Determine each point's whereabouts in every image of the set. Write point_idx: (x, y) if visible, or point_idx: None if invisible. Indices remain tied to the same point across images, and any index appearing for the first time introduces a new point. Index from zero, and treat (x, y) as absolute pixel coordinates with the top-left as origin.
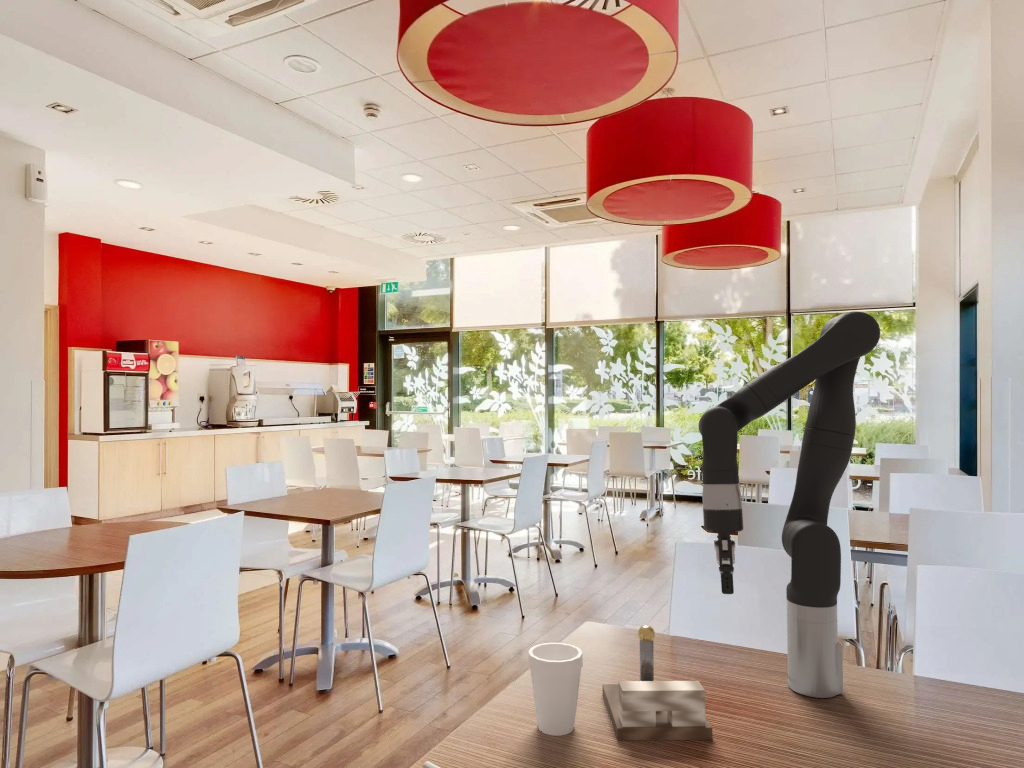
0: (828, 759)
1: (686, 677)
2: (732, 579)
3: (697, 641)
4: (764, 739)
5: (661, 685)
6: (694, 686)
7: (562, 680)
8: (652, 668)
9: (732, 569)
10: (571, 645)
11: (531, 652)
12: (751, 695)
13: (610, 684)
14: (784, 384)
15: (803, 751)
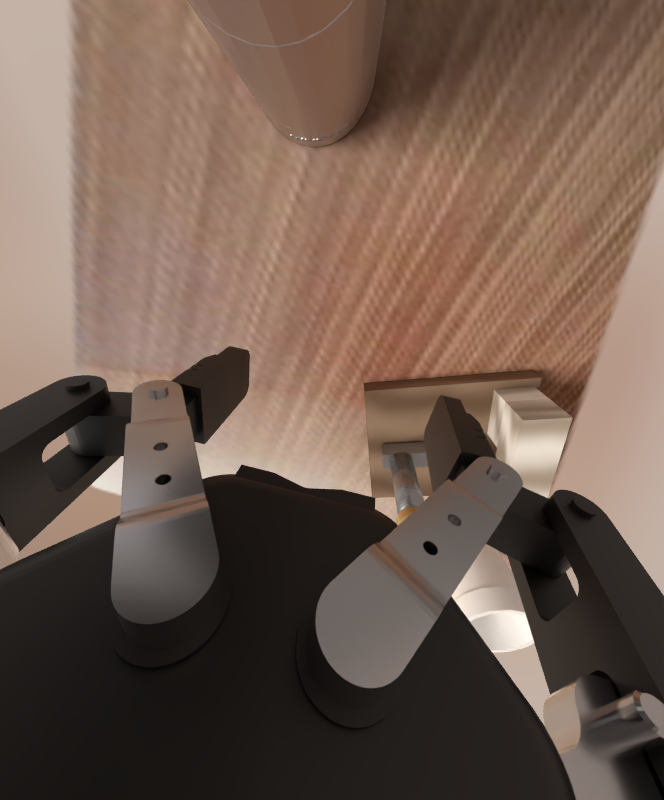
0: (660, 171)
1: (290, 368)
2: (474, 438)
3: (84, 315)
4: (549, 283)
5: (530, 478)
6: (549, 431)
7: None
8: (414, 469)
9: (600, 514)
10: (472, 617)
11: (495, 650)
12: (362, 259)
13: (372, 489)
14: None
15: (613, 217)
